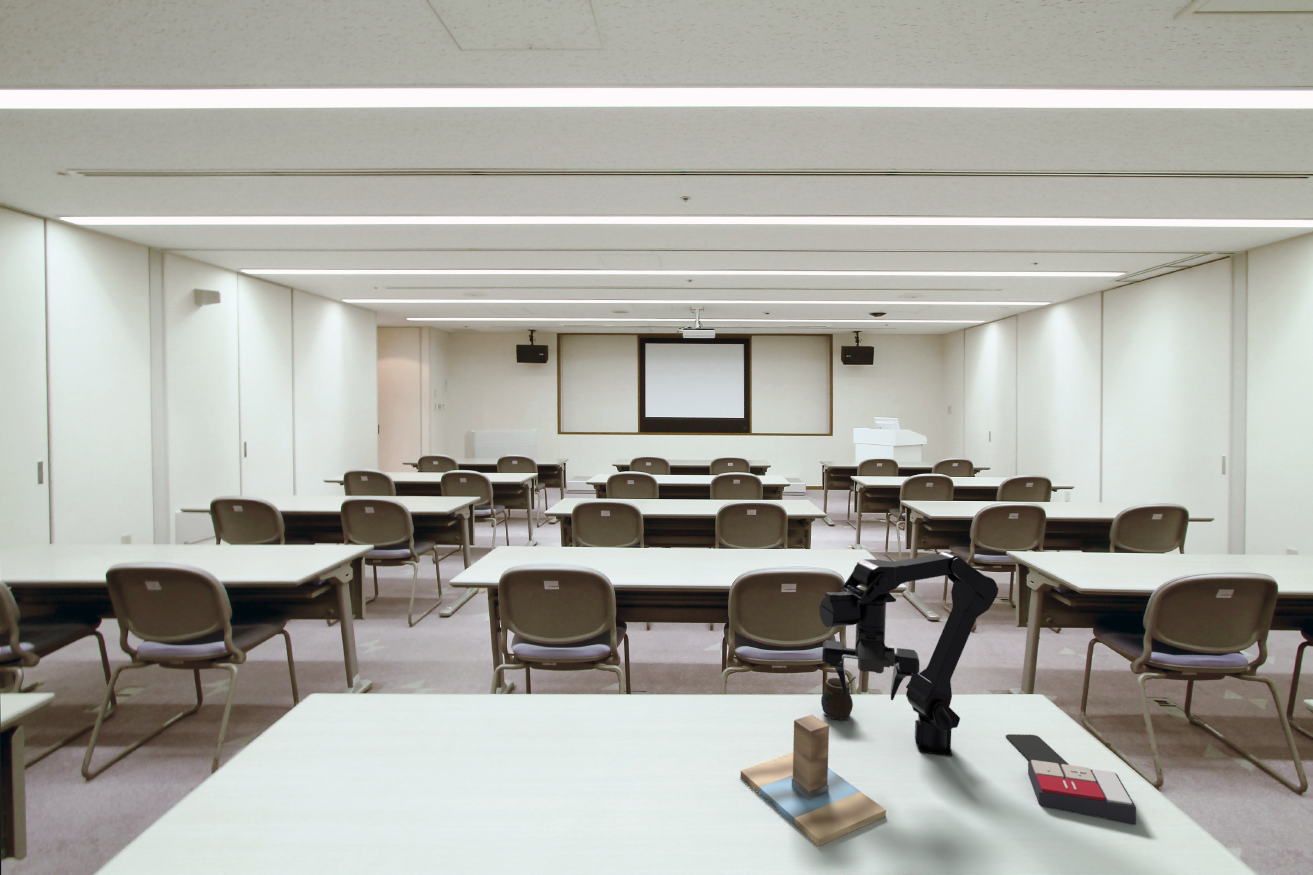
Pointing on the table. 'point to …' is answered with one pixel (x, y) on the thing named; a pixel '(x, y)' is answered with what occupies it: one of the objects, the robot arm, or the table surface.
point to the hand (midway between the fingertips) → (868, 696)
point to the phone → (1034, 748)
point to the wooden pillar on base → (810, 757)
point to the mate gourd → (837, 699)
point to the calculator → (1081, 791)
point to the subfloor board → (813, 801)
